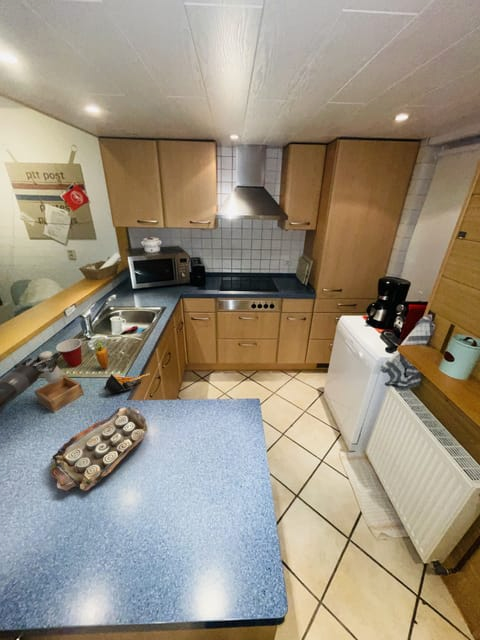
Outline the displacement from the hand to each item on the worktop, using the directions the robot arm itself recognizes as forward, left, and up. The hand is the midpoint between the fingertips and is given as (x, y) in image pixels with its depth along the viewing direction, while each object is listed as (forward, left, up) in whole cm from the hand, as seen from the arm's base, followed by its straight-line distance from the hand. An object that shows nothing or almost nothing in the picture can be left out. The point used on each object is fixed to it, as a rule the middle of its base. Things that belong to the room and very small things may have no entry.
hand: (51, 354), depth 100 cm
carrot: (+20, +1, -20) cm, 28 cm away
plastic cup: (+15, +18, -20) cm, 31 cm away
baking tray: (-9, -40, -20) cm, 46 cm away
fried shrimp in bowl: (+16, -20, -20) cm, 33 cm away
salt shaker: (-2, -2, -11) cm, 11 cm away
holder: (-2, -1, -20) cm, 20 cm away
